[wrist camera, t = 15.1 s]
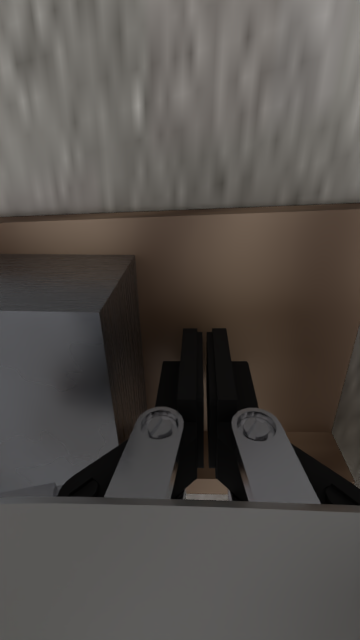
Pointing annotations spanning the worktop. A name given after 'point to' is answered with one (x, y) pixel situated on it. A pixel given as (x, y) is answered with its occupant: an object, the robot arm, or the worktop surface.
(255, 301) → the brown wooden tray
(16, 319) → the bookend
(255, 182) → the worktop surface
